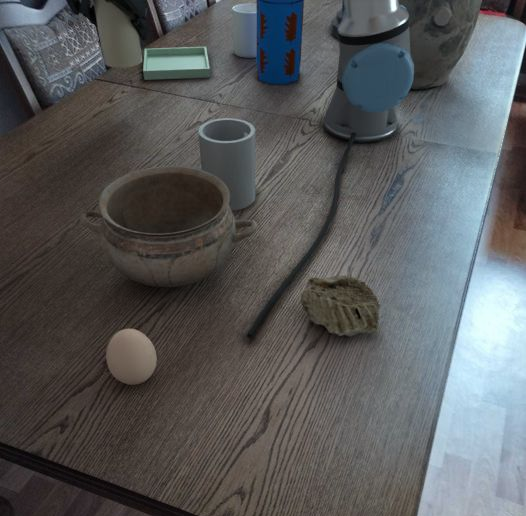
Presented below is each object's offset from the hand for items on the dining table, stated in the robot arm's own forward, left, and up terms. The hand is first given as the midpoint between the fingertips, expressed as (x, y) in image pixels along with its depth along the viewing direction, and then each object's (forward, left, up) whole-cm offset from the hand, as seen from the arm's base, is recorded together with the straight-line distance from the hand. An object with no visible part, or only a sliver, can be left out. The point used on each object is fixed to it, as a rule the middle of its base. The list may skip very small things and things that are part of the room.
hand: (125, 32), depth 116 cm
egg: (-85, -3, -14) cm, 86 cm away
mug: (+31, -30, -14) cm, 45 cm away
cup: (-44, -18, -14) cm, 50 cm away
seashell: (-78, -30, -14) cm, 85 cm away
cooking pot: (-64, -8, -14) cm, 66 cm away
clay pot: (+6, -68, -14) cm, 69 cm away
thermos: (+12, -35, -14) cm, 39 cm away
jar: (-3, +1, -5) cm, 6 cm away
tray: (+21, -10, -14) cm, 27 cm away
